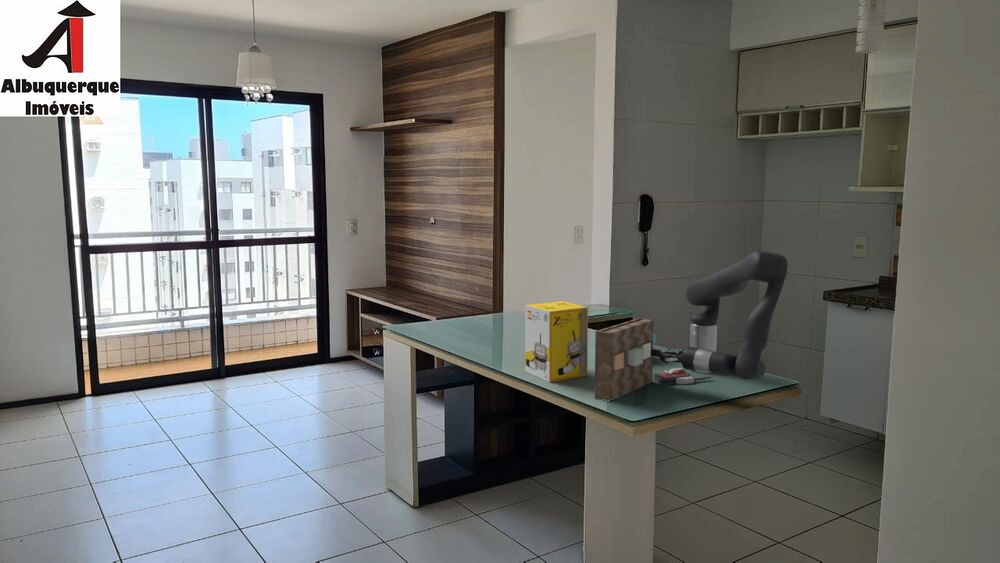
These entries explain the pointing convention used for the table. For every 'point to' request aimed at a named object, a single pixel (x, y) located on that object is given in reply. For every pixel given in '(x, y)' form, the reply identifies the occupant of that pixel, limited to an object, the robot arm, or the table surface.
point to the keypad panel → (620, 341)
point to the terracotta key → (618, 361)
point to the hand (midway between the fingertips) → (651, 352)
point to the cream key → (646, 350)
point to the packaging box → (556, 340)
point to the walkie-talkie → (676, 377)
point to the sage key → (635, 356)
